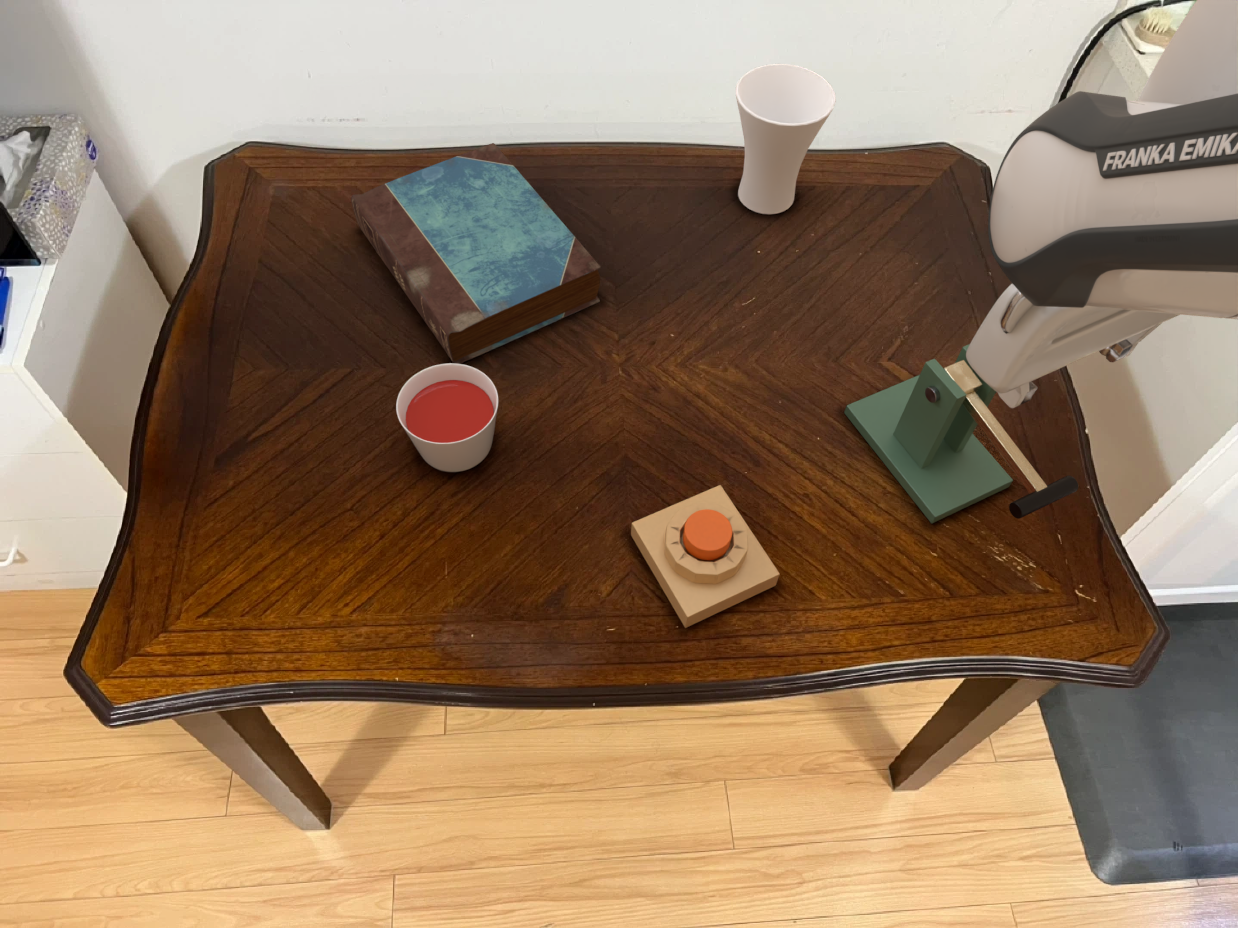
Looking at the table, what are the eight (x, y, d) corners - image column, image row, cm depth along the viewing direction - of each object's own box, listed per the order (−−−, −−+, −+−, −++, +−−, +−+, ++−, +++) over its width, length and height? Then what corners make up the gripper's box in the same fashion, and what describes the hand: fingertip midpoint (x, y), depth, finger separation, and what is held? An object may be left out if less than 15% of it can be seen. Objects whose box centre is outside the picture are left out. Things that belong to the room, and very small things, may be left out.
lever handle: (1069, 496, 79) (1084, 484, 77) (1013, 524, 78) (1027, 511, 76) (970, 367, 85) (981, 351, 83) (915, 390, 83) (925, 375, 81)
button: (738, 549, 80) (741, 539, 78) (697, 568, 79) (699, 558, 77) (714, 512, 82) (717, 502, 80) (674, 530, 81) (675, 520, 79)
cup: (715, 166, 113) (729, 63, 101) (802, 165, 113) (826, 62, 102) (726, 228, 107) (742, 125, 96) (818, 226, 107) (845, 124, 96)
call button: (776, 585, 82) (783, 563, 79) (685, 628, 80) (689, 607, 76) (717, 497, 87) (722, 473, 84) (630, 535, 85) (632, 512, 81)
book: (358, 231, 105) (349, 195, 101) (499, 177, 111) (495, 141, 107) (453, 367, 95) (446, 334, 91) (602, 300, 100) (603, 266, 96)
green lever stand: (1008, 487, 88) (1061, 410, 79) (931, 524, 86) (975, 450, 76) (917, 381, 95) (955, 298, 85) (843, 412, 93) (873, 331, 83)
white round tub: (462, 390, 93) (455, 347, 88) (523, 444, 90) (519, 404, 84) (388, 441, 90) (375, 400, 84) (448, 500, 86) (439, 461, 81)
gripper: (1060, 318, 53) (978, 460, 64) (1313, 209, 58) (1196, 358, 70) (986, 247, 56) (920, 395, 67) (1233, 151, 62) (1133, 302, 73)
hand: (1062, 375), depth 69 cm, fingers open, 8 cm apart
